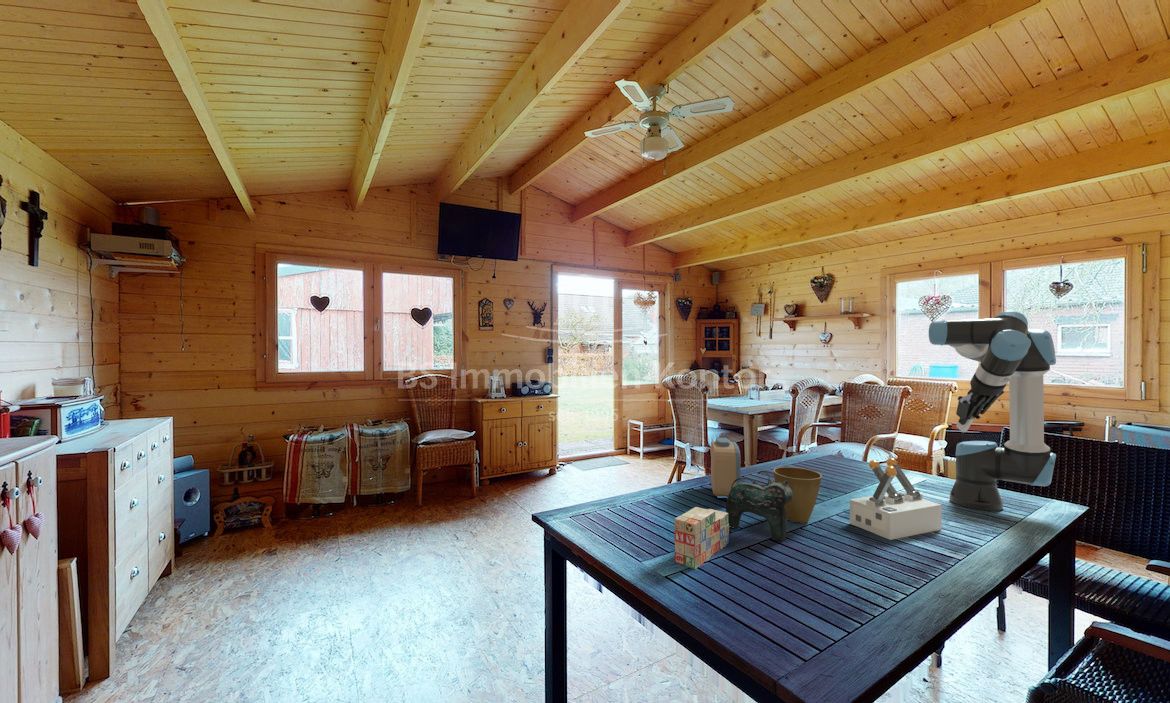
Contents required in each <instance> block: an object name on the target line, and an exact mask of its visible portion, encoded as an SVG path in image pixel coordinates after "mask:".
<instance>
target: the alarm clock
mask: <svg viewBox="0 0 1170 703" xmlns="http://www.w3.org/2000/svg"><path fill="white" fill-rule="evenodd" d="M741 460H742V459H741V450H740V447H739V445H738V443H737V442H736V441H731V440H730V439H729V438H727V437H717V438H716V440H712V441H711V442H710V482H711V490H712V493H713V494H712V495H714V496H715V497H716V496H727V497H728V495H729V492H730V490H731V486H732V484H733V482H734V481H735V480H736V479H739V478H742V476H741V474H742V472H741V471H742V470H741V462H742V461H741ZM741 480H742V479H741ZM741 480H737V481H736V482H735V483H734V484H733V486H732V487H734V486H736V485H737V484H739V483H742V481H741Z"/></svg>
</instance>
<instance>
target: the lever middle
mask: <svg viewBox="0 0 1170 703" xmlns="http://www.w3.org/2000/svg"><path fill="white" fill-rule="evenodd" d="M868 467H869V469H871V470H872V472H873V473H874V475H875V477H876V479H878V481H879V482H880V481H881V479H882V477H883V475H884V473H885V471H884V470H883V469H882V468H881V465H880V463H879V462H878V461H877V460H875V459H873V460H869V462H868ZM897 492H898V491H897V490H896V488H894V485H893V484H892V482H891V483H890V485H889V487H888V489H887V491H886V494H888V497H890V498H893V499H894V501H899V500H902V496H901V494H899V493H897ZM896 493H897V494H896Z"/></svg>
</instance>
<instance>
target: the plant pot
mask: <svg viewBox="0 0 1170 703" xmlns="http://www.w3.org/2000/svg"><path fill="white" fill-rule="evenodd" d="M772 473H773V478H774V480H773V481H774V483H783V482H784V481H785V480H786V481H787V482H788V485H789V487H790V488H791V490H792V499H791V501H790V502H788V503H787V504H785V505H784V507H785V510H786V520H787V519H788V520H790V521H789V522H791V521H794V522H793V523H795V522H800V523H799V524H805V522H806V523H808V521H809V519H810V518H811V515H812V513H813V511H814V509H815V508H814V507H815V505H816V502H817V498H818V496H819V495H818V494H819V492H820V487H821V481H822V476H823V475H822V474H821V473H820V472H818V471H814V470H812V469H808V468H802V467H794V466H780V467H775V468H774V469H773V472H772ZM788 520H787V521H788Z"/></svg>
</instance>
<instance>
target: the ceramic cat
mask: <svg viewBox="0 0 1170 703" xmlns="http://www.w3.org/2000/svg"><path fill="white" fill-rule="evenodd" d="M761 473H765V474H766V475H767V476H768V481H767V483H766V484H762V483H760V482H756V481H755V480H753V479H751V478H748V477H741V478H739V479H736V480H735V481H734V482H733V484H734V483H735V482H736V481H737V480H747V481H746V482H745V481H744V482H741V483H739V484H737V485H736V486H734V487H732V486H733V484H732V486H731V490H730V492H729V495H728V498H727V499H726V505H725V512H726V513H728V514H729V526H731V527H734V528H737V529H739V528H740V522H741V518H742V514H744V513H752V514H754V515H756V516H759V517H762V518H764V519H765V520H766V522H767V524H768V525H769V528H770V533H771V535H770V536H771V540H773V539H776V540H775V541H778V540H779V541H778V542H781V541H782V542H784V541H785V540H786V539H787V525H788V524H787V523H788V522H787V519H786V510H785V507H784V505H785V504H787V503H788V502H790V501H791V499H792V490H791V488H790V487H789V485H788V482H787V481H786V480H785V481H784V482H783V483H775V481H774V480H773V479H771V478H770V474H769V472H767V471H766V470H760V471H758V473H757V475H759V474H761ZM748 480H749V481H751V482H749V481H748ZM738 527H739V528H738ZM783 540H784V541H783Z"/></svg>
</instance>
